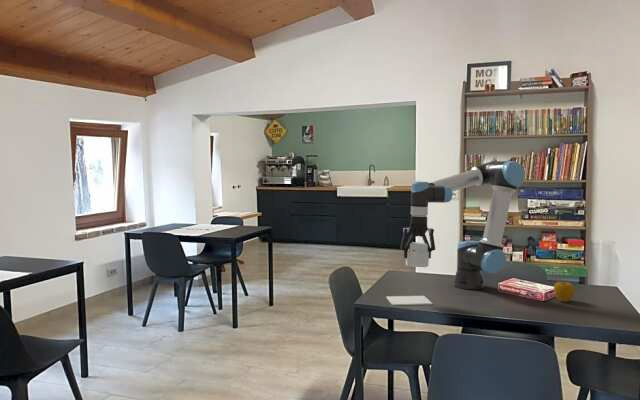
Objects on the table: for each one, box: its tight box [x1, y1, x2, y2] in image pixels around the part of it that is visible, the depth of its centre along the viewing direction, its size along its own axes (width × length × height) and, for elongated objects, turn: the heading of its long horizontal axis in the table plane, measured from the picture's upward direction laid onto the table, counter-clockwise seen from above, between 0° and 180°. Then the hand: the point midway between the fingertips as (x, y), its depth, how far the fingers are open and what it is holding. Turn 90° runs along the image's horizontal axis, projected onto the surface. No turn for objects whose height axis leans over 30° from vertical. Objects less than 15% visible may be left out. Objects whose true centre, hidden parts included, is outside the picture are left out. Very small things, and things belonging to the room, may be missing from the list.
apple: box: [553, 281, 576, 303], centre depth 216 cm, size 9×8×9 cm
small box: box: [408, 241, 428, 268], centre depth 215 cm, size 8×6×10 cm
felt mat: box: [385, 295, 433, 306], centre depth 215 cm, size 18×12×1 cm, turn 95°
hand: (417, 265), depth 215 cm, fingers closed on small box, 8 cm apart
